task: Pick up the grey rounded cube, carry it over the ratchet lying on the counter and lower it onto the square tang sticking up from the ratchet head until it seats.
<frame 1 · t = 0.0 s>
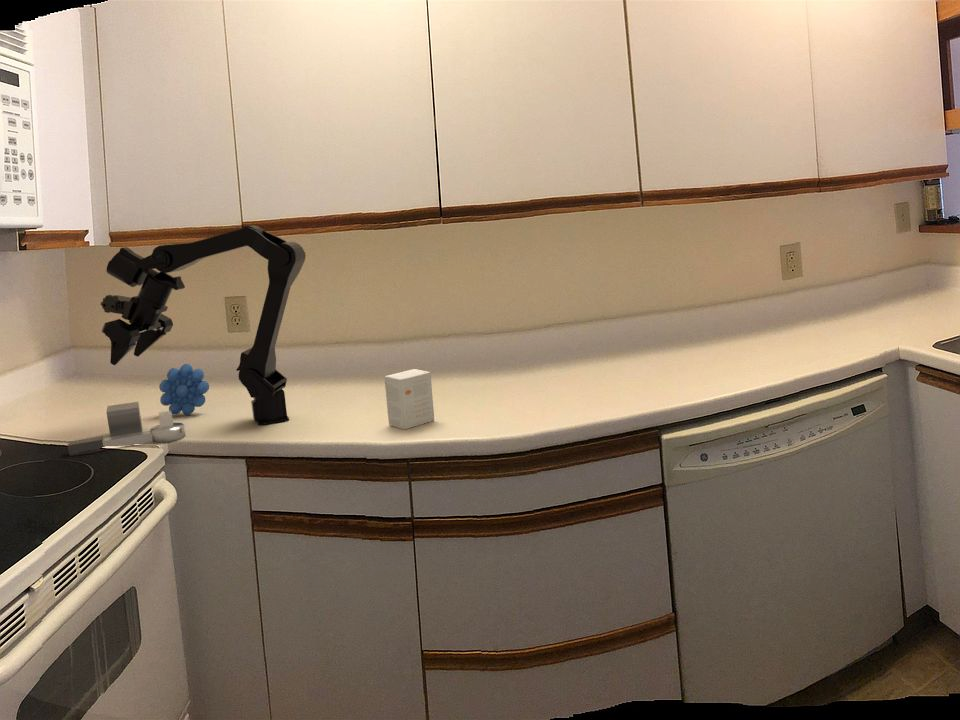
hand: (124, 359, 160), 15 cm above the countertop, tool tilted 35°, fingers open, 9 cm apart
ratchet: (168, 438, 152), on the countertop
grey rounded cube: (127, 433, 157), on the countertop
small box: (411, 424, 152), on the countertop
grapes: (189, 414, 171), on the countertop
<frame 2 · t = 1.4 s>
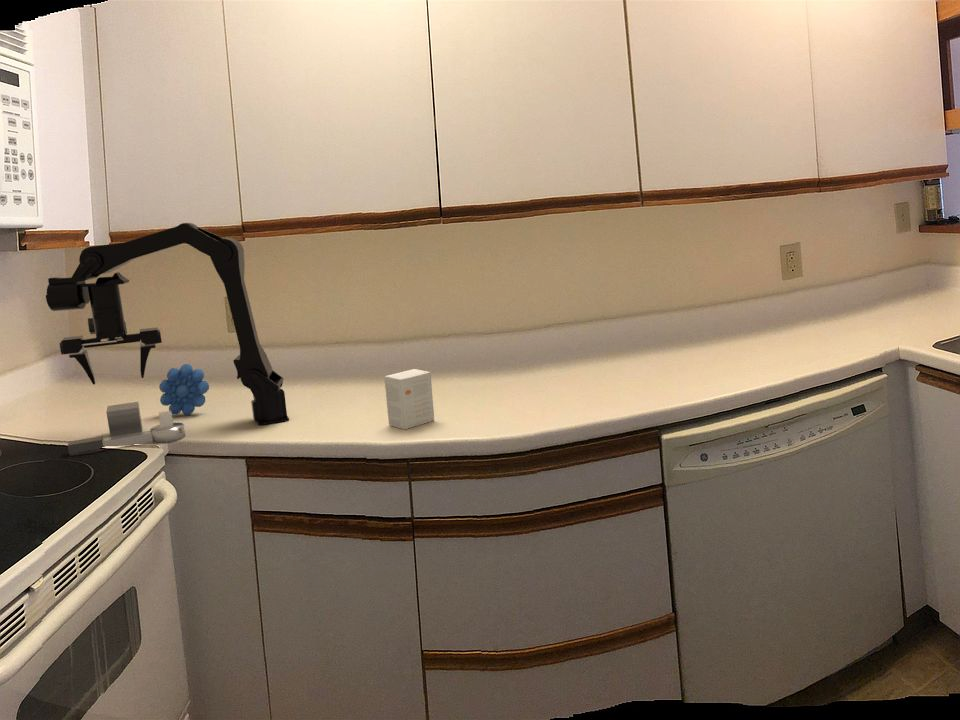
hand: (118, 380, 155), 12 cm above the countertop, tool pointing down, fingers open, 9 cm apart
nothing on the countertop moved.
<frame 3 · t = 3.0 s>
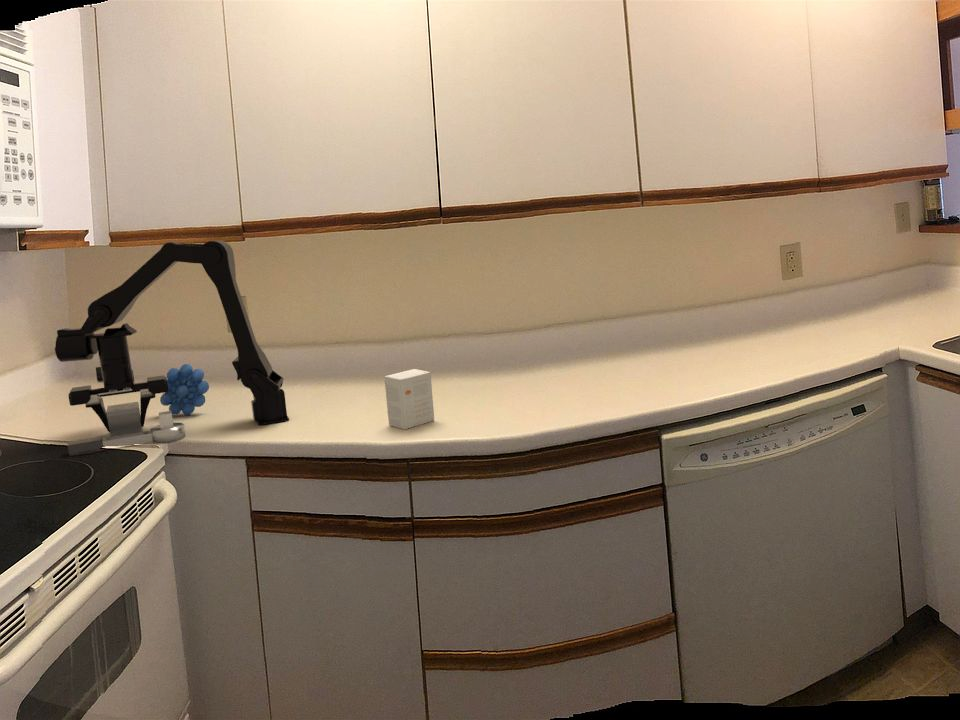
hand: (126, 429, 157), 1 cm above the countertop, tool pointing down, fingers closed on grey rounded cube, 6 cm apart
grey rounded cube: (127, 433, 157), on the countertop, touching gripper
everything else where it was.
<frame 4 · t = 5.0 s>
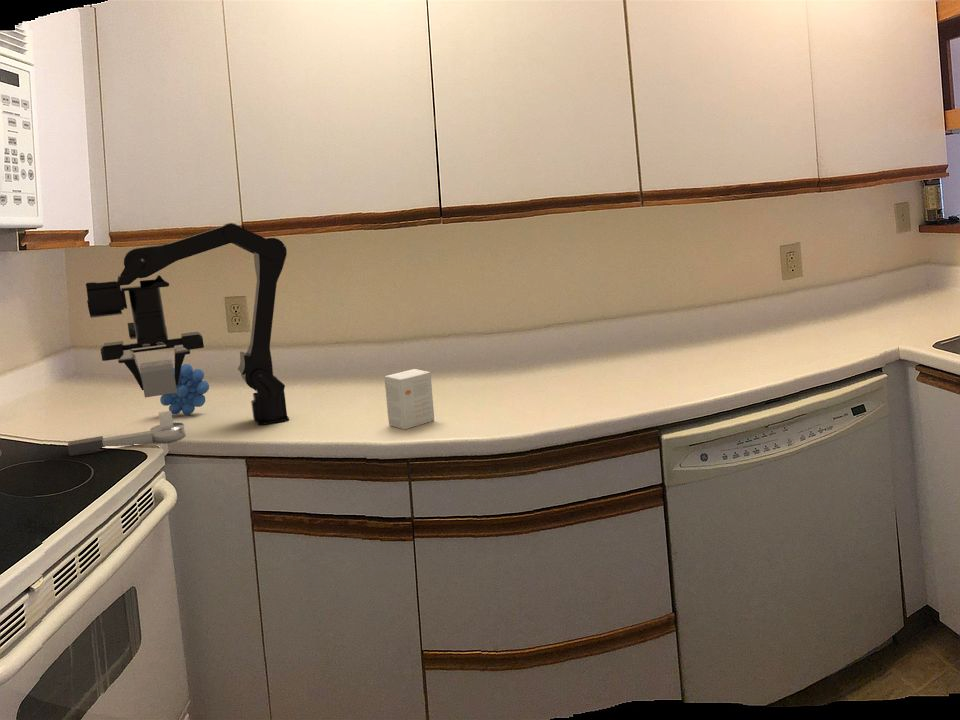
hand: (160, 387, 150), 11 cm above the countertop, tool pointing down, fingers closed on grey rounded cube, 6 cm apart
grey rounded cube: (161, 392, 150), point 10 cm above the countertop, touching gripper
everything else where it was.
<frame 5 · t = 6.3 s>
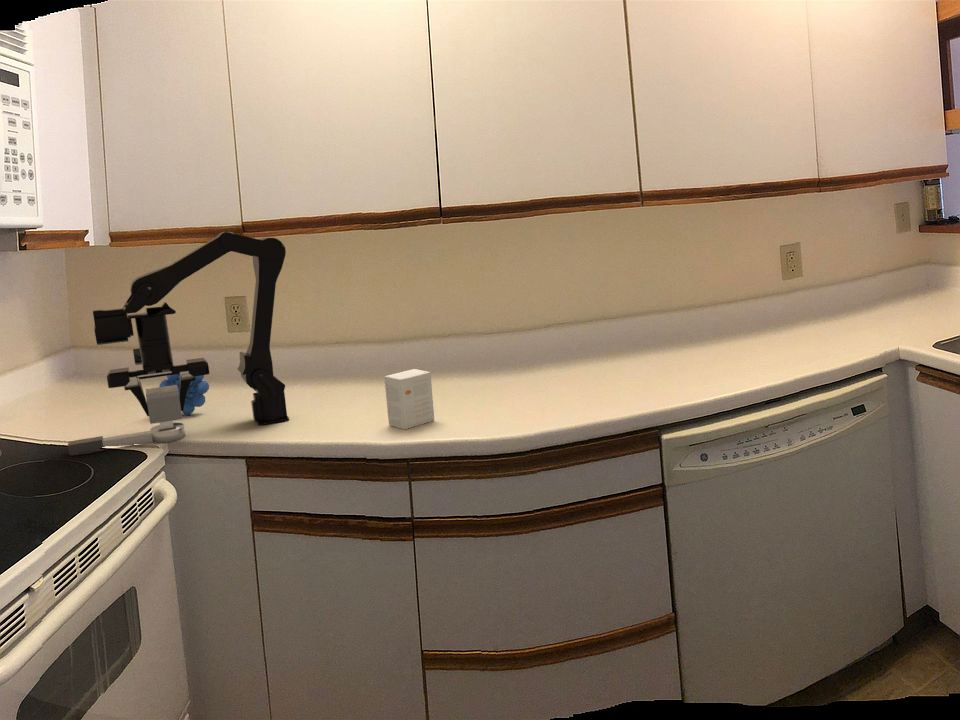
hand: (165, 413, 151), 5 cm above the countertop, tool pointing down, fingers closed on grey rounded cube, 6 cm apart
grey rounded cube: (166, 418, 151), point 4 cm above the countertop, touching gripper
everything else where it was.
when the fingers open (4 cm above the countertop, at t = 7.5 s): grey rounded cube stays where it is, resting on ratchet.
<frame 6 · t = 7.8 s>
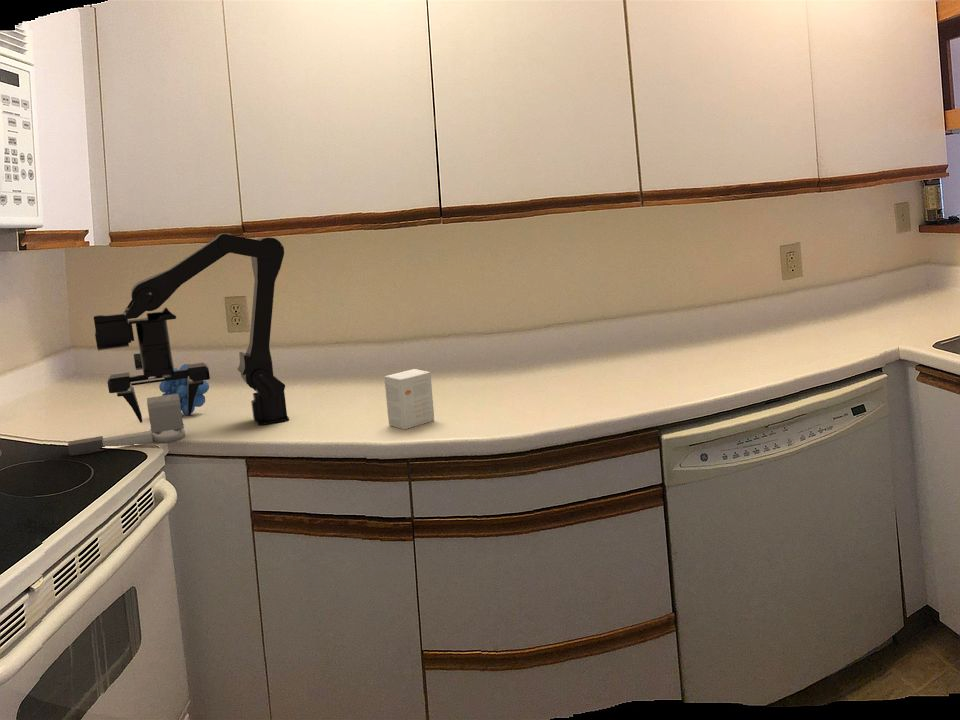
hand: (165, 418, 151), 4 cm above the countertop, tool pointing down, fingers open, 9 cm apart
ratchet: (168, 438, 152), on the countertop, touching grey rounded cube
grey rounded cube: (167, 426, 151), point 2 cm above the countertop, touching ratchet
everything else where it was.
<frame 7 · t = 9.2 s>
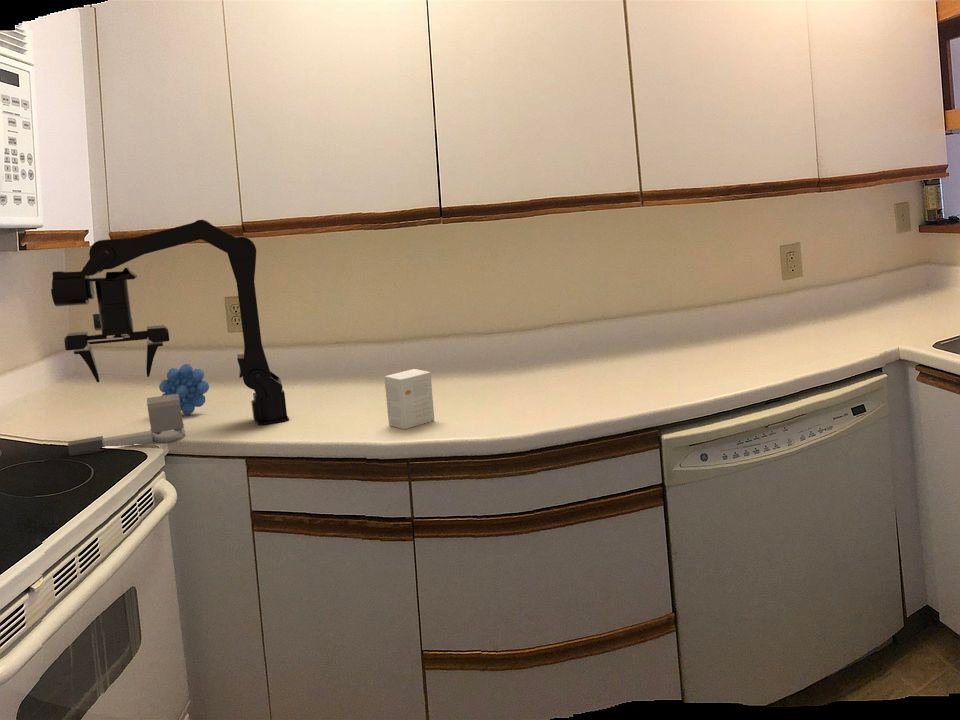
hand: (123, 379, 150), 13 cm above the countertop, tool pointing down, fingers open, 9 cm apart
nothing on the countertop moved.
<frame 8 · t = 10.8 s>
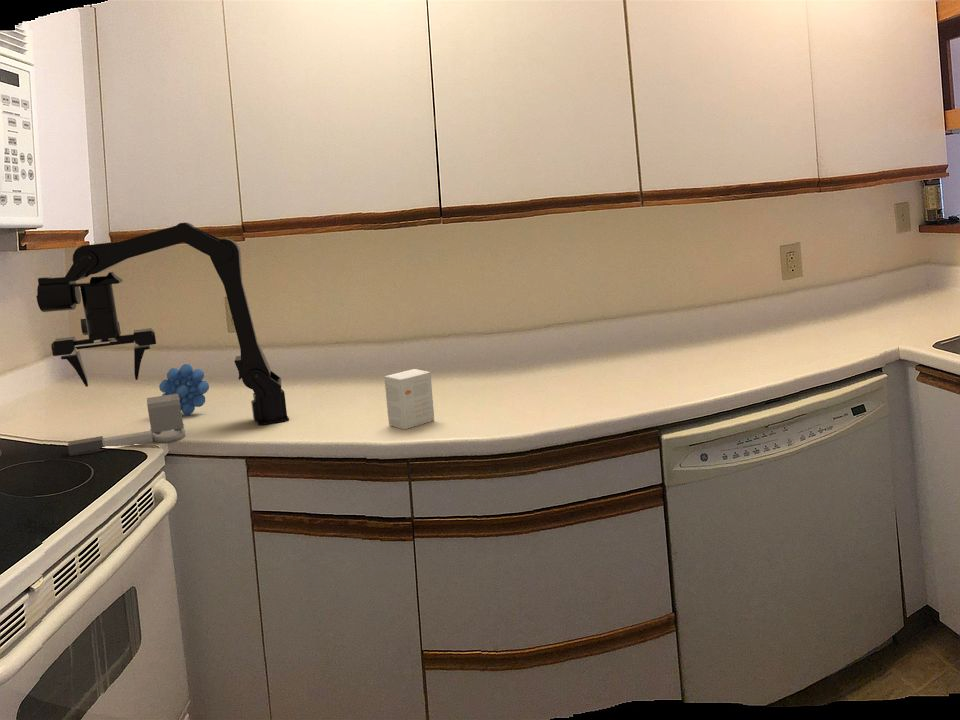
hand: (112, 382, 151), 12 cm above the countertop, tool pointing down, fingers open, 9 cm apart
nothing on the countertop moved.
at the end: grey rounded cube 0.0 cm from the ratchet (horizontally); grey rounded cube point 2.4 cm above the countertop; the gripper is holding nothing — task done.
